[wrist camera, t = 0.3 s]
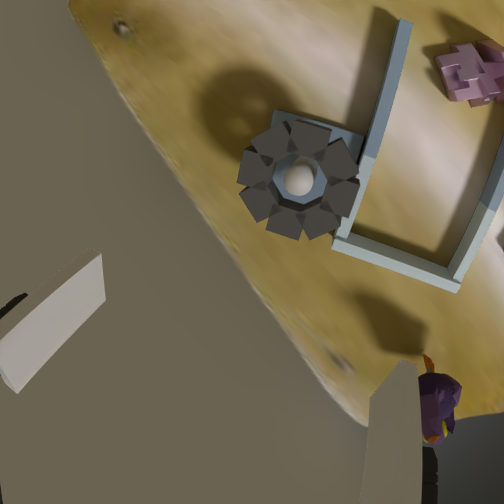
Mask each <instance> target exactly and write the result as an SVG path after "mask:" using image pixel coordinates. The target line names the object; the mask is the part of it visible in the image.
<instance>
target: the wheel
mask: <svg viewBox="0 0 504 504" xmlns="http://www.w3.org/2000/svg"><path fill="white" fill-rule="evenodd" d="M331 132H332V129H331V128H328V127H324V126H321V125H318V124H314V123H311V122H308V121H304V120H300V119H296V120H294V122H293V126H292V129H291V127H290V125H289V124H288V122H287V121H286V120H285V121H282V122H280V123H279V124H277V125H275V126H273V127H272V128H270V129H268V130H266V131H265V132H263V133H261V134H260V135H258V136H256V137H255V138H253V139H251V140H250V141H251V142H252V144H253V146H249V147H247V148H245V149H244V150H243V155H242V159H241V164H240V169H239V174H238V179H237V183H239V184H242V185H246V186H247V187H246V188H244V189H243V190H242V191H241V192H240V193H239V195H240V197H241V198H242V200H243V201H244V203H245V205H246V206H247V208H248V209H249V211H250V213H251V214H252V216H253V217H254V219H255V221H256V222H257V223H258V222H260V221H262V220H264V219H266V218H268V217H269V219H268V223H267V227H266V230H268V231H271V232H274V233H277V234H280V235H283V236H286V237H289V238H292V239H295V240H299V238H300V235H301V232H302V229H304V231H305V233H306V235H307V236H308V238H309V240H311V239H314V238H316V237H318V236H321V235H323V234H325V233H327V232H330V231H332V230H334V229H337V228H339V227H341V216H342V217H345V218H348V219H349V216H350V213H351V210H352V208H353V205H354V202H355V199H356V196H357V194H358V191H359V188H360V180H359V179H358V178H355V177H353V176H355V175H357V174H359V168H358V166H357V164H356V162H355V160H354V158H353V156H352V154H351V153H350V151H349V149H348V147H347V145H346V143H345V142H344V140H343V138H342V137H340V138H338V139H336V140H334V141H332V142H330V143H329V139H330V136H331ZM292 153H294V154H298V155H301V156H304V157H308V158H311V159H314V160H316V161H317V163H318V165H319V166H320V168H321V170H322V172H323V174H324V175H325V177H326V179H327V184H326V187H325V190H324V193H323V195H322V196H320V197H318V198H316V199H314V200H312V201H310V202H308V203H305V204H302V203H298V202H295V201H292V200H289V199H286V198H283V196H282V194H281V193H280V191H279V189H278V188H277V186H276V184H275V183H274V181H273V175H274V171H275V167H276V163H277V161H279V160H280V159H282V158H284V157H286V156H288V155H290V154H292Z"/></svg>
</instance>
